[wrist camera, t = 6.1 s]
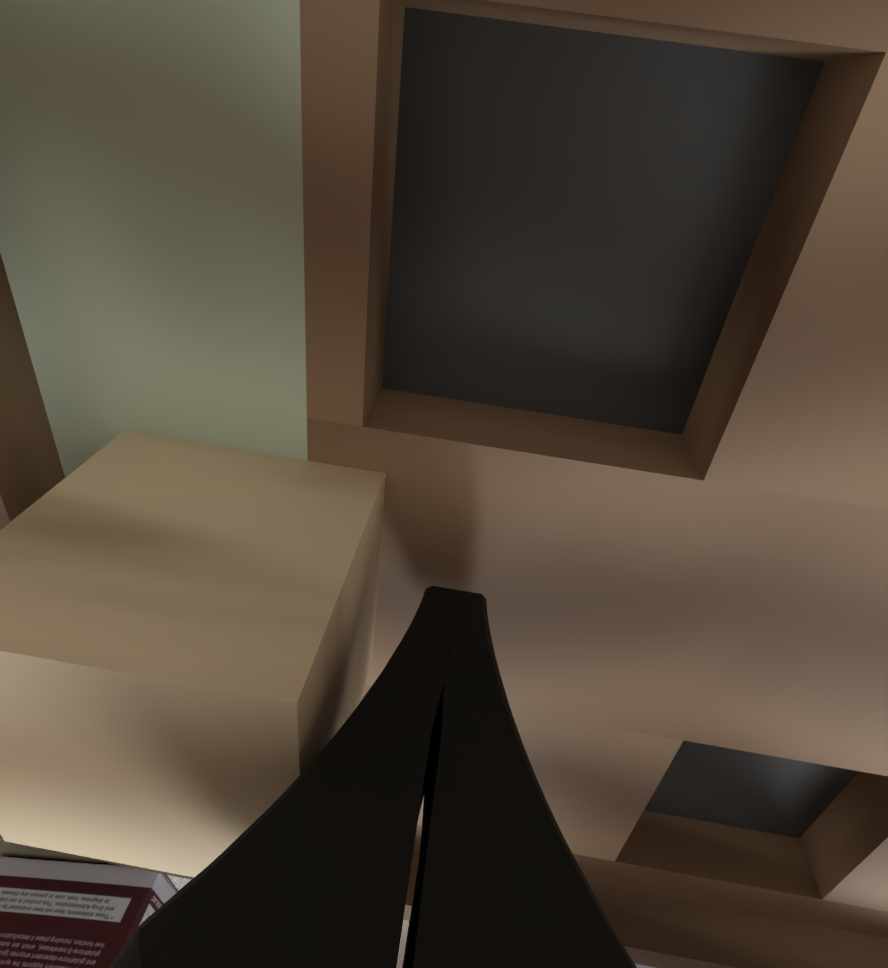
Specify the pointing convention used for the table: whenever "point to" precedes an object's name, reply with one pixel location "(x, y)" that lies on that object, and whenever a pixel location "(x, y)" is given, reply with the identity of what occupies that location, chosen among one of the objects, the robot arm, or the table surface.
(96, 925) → the supplement box
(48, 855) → the table surface
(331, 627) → the block
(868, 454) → the trap box
